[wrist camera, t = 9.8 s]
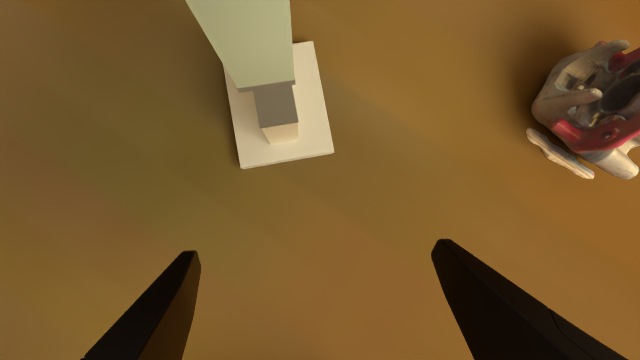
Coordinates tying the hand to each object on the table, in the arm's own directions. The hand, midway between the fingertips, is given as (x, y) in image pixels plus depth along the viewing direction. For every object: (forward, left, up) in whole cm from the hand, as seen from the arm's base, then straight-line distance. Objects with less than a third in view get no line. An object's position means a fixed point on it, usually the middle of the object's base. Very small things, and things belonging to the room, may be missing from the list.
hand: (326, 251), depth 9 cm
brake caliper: (+23, -15, -13) cm, 30 cm away
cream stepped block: (+7, +8, -13) cm, 17 cm away
